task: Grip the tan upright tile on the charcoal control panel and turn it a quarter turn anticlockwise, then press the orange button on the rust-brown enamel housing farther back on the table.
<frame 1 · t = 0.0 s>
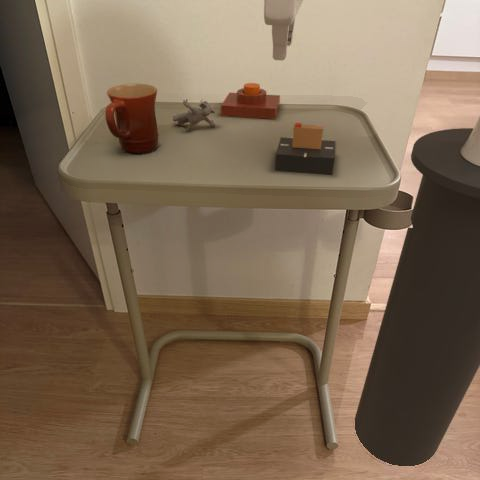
hand: (282, 51, 67), 19 cm above the table, tool pointing down, fingers open, 8 cm apart
mug: (135, 152, 88), on the table
button: (251, 89, 103), point 4 cm above the table, slide at 0.1 cm
button box: (251, 110, 106), on the table
grey branched piece: (193, 131, 96), on the table
tan upright tile: (307, 136, 80), point 5 cm above the table, hinge at 0.0°
panel: (304, 163, 84), on the table
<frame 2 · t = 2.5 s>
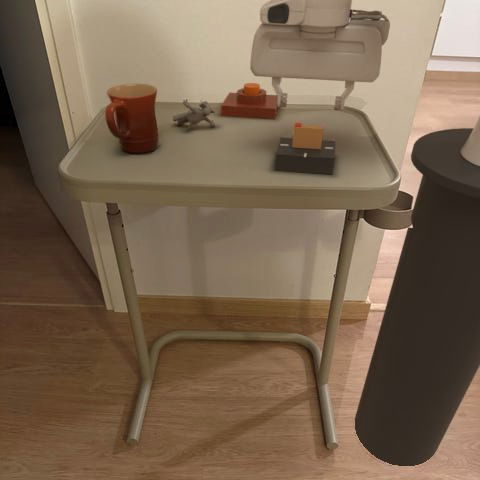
hand: (310, 107, 77), 10 cm above the table, tool pointing down, fingers open, 8 cm apart
nothing on the table moved.
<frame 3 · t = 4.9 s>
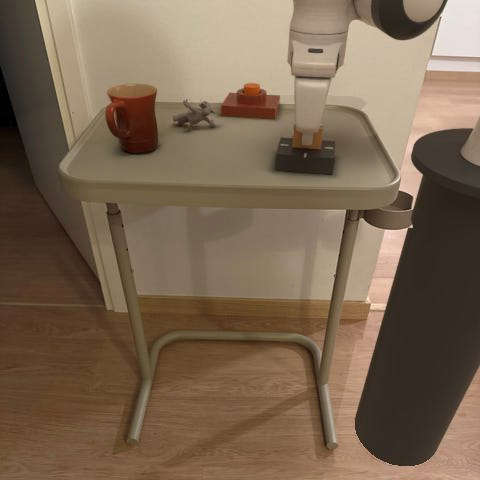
hand: (307, 140, 81), 4 cm above the table, tool pointing down, fingers closed on tan upright tile, 2 cm apart
tan upright tile: (307, 136, 80), point 5 cm above the table, hinge at 0.0°, touching gripper
everything else where it was.
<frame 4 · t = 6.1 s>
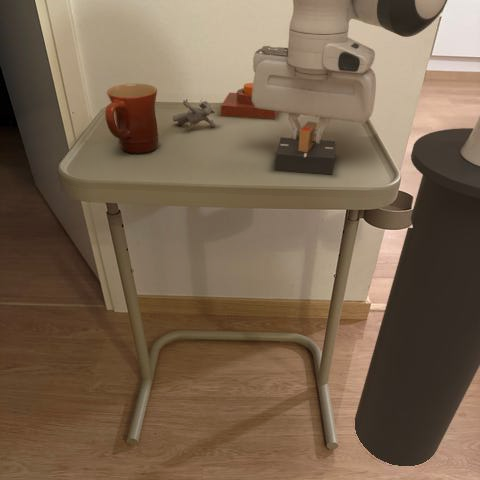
hand: (307, 140, 81), 4 cm above the table, tool pointing down, fingers closed on tan upright tile, 2 cm apart
tan upright tile: (307, 136, 80), point 5 cm above the table, hinge at 77.4°, touching gripper
everything else where it was.
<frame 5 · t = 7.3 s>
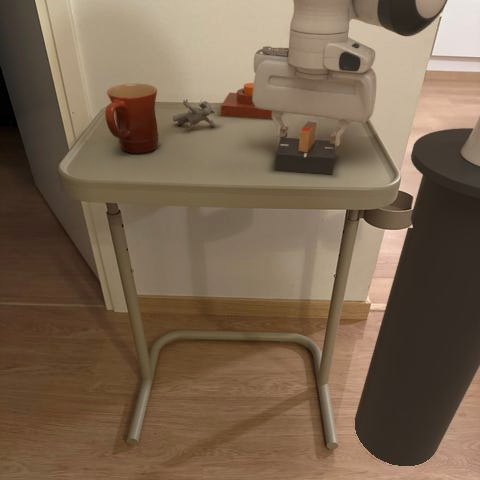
hand: (307, 140, 81), 4 cm above the table, tool pointing down, fingers open, 8 cm apart
tan upright tile: (307, 136, 80), point 5 cm above the table, hinge at 78.3°
everything else where it was.
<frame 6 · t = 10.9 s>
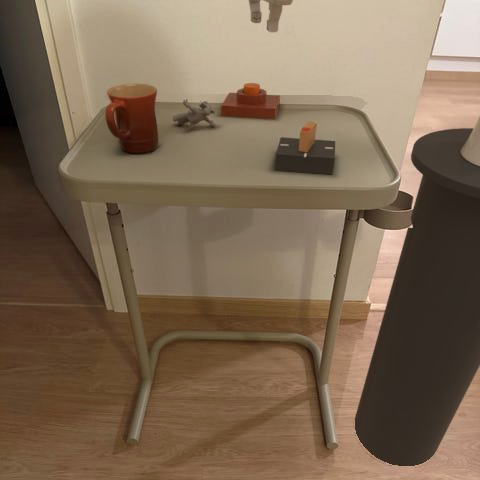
hand: (263, 27, 89), 17 cm above the table, tool pointing down, fingers open, 8 cm apart
nothing on the table moved.
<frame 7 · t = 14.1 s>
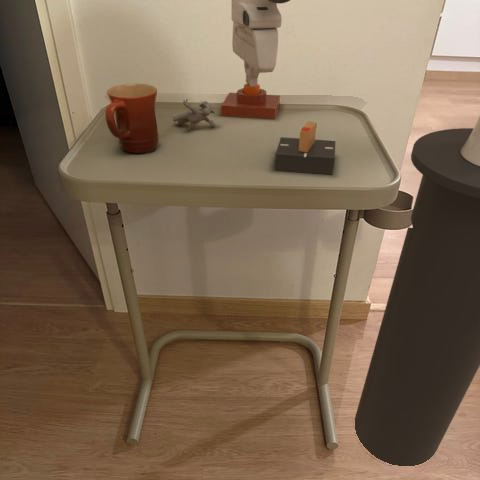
hand: (251, 85, 103), 5 cm above the table, tool pointing down, fingers closed, pressing on button
button: (251, 89, 103), point 4 cm above the table, slide at 0.0 cm, touching gripper
everything else where it was.
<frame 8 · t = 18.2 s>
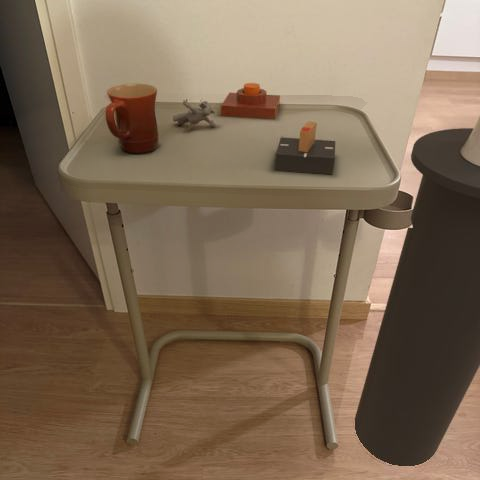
button: (251, 89, 103), point 4 cm above the table, slide at 0.1 cm
everything else where it was.
at the end: tan upright tile at +78° (first picture: +0°); button pushed in 1.0 cm at the most during the clip, back to where it started at the end; button slide at 0.1 cm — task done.
